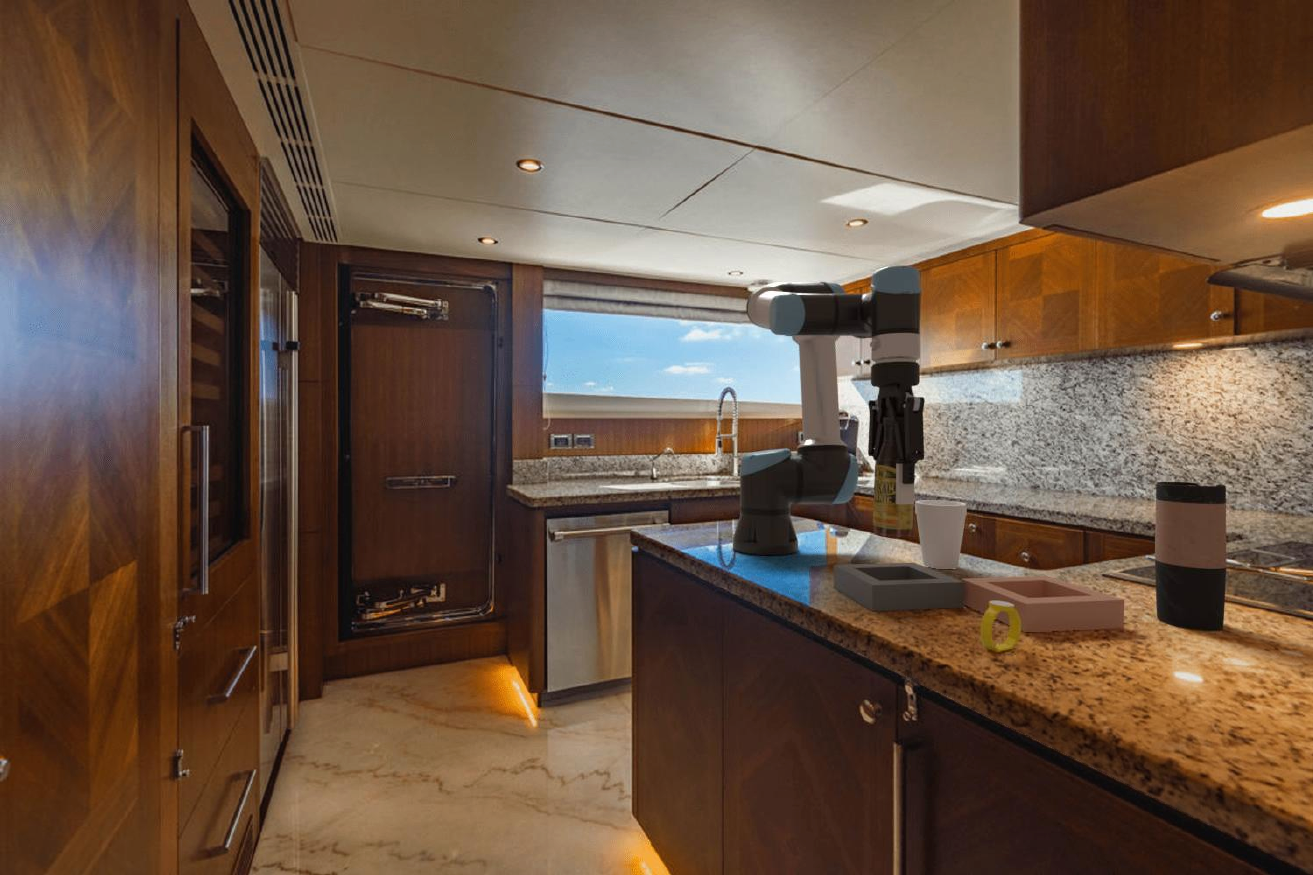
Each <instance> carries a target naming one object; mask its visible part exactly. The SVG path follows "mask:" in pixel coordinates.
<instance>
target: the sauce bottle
mask: <svg viewBox="0 0 1313 875" xmlns="http://www.w3.org/2000/svg"><path fill="white" fill-rule="evenodd" d="M883 426H884V441H883V445H882V448H881V451H880V453H879V456H878V459H877V462H876V461H875V465H874V479H873V480H874V482H873V484H874V485H873V511H872V525H873V534H874V535H876V536H878V537H881V538H888V539H906V538H911V536H912V535H913V531H912V529H913V528H914V511H915V510H914V506H915V503H914V504H896V464H897V463H896V462H895V461H896V460H898V459H899V454H898V448H897V442H896V435H895V429H894V424H892V423H891V421H890V418H884V421H883Z"/></svg>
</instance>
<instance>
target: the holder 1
mask: <svg viewBox="0 0 1313 875" xmlns="http://www.w3.org/2000/svg"><path fill="white" fill-rule="evenodd" d="M833 588H834V589H836V591H838V592H840V593H842V594H843V595H845V596H846V597H849V598H850V599H851V600H853V601H855V602H856V603H858V604H860V605H861V606H863V607H865V608H867V609H868V610H869V611H871V612H887V611H890V612H891V611H892V612H893V611H909V610H912V611H913V610H916V611H917V610H934V609H935V610H937V609H939V610H940V609H959V608H960V609H961V608H964V605H963V582H962V581H961V580H959V579H956V578H954V577H951V576H949V575H946V574H943V573H942V572H938V571H936V570H935V569H932V568H927V567H925V566H924V565H922V564H918V563H916V562H893V563H892V562H891V563H889V562H887V563H859V564H857V563H856V564H852V563H851V564H833Z"/></svg>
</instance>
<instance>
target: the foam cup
mask: <svg viewBox="0 0 1313 875" xmlns="http://www.w3.org/2000/svg"><path fill="white" fill-rule="evenodd" d="M914 506H915V510H914V513H915V515H916V519H917V520H916V521H917V526H918V533H919V534H918V535H919V543H920V549H921V556H922V562H923V566H924V565H925V566H928V567H931V568H930V569H932V568H936V569H935V570H938V569H953V568H957V567H958V568H959V564H960V563H959V562H960V555H961V549H962V541H963V535H964V528H965V521H966V517H967V516H968V515H967V507H968V506H967V503H966V502H962V501H961V502H960V501H955V500H954V501H953V500H952V501H951V500H940V499H939V500H935V499H931V500H929V499H928V500H927V499H926V500H924V499H923V500H916V501H914ZM925 566H924V567H925ZM958 568H957V569H958Z"/></svg>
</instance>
